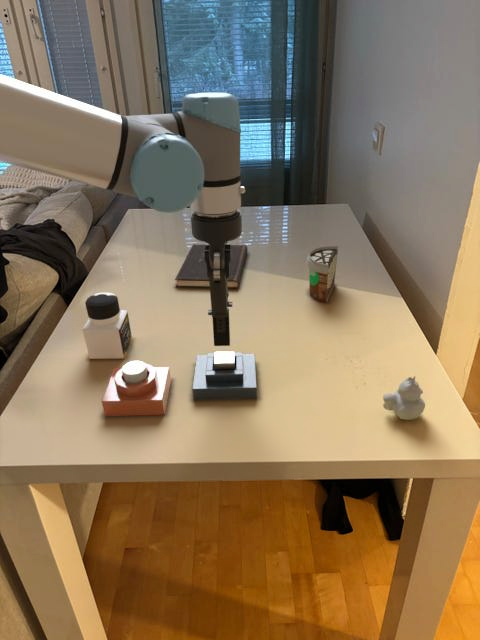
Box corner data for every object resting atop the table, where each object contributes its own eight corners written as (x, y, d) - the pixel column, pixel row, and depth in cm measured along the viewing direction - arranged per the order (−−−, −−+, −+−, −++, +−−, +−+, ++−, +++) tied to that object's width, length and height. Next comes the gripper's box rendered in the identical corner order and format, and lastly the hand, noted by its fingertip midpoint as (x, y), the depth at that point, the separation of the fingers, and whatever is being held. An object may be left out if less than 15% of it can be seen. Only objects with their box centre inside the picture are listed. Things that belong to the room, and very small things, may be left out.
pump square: (214, 371, 81) (213, 363, 81) (215, 359, 85) (214, 351, 84) (234, 371, 81) (234, 363, 81) (234, 359, 85) (234, 351, 84)
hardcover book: (175, 287, 118) (174, 279, 116) (193, 251, 137) (193, 244, 136) (238, 289, 116) (238, 280, 115) (247, 252, 135) (247, 245, 134)
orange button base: (104, 416, 78) (99, 392, 75) (116, 382, 85) (112, 360, 83) (164, 414, 78) (161, 391, 75) (171, 380, 85) (168, 358, 83)
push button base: (193, 399, 81) (191, 381, 79) (197, 365, 89) (196, 348, 87) (256, 398, 80) (256, 380, 78) (254, 363, 89) (254, 346, 87)
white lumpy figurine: (426, 427, 73) (435, 387, 69) (383, 424, 74) (390, 385, 70) (418, 404, 78) (426, 365, 74) (378, 402, 79) (384, 364, 75)
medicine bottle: (125, 359, 92) (114, 306, 85) (89, 359, 92) (76, 306, 86) (132, 339, 98) (123, 288, 92) (99, 339, 98) (87, 288, 92)
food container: (311, 279, 119) (313, 242, 114) (335, 282, 117) (338, 245, 112) (299, 301, 109) (300, 262, 104) (325, 305, 107) (327, 265, 102)
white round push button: (121, 384, 78) (119, 374, 76) (126, 370, 81) (124, 360, 80) (145, 384, 77) (143, 374, 76) (149, 369, 81) (147, 359, 80)
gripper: (241, 224, 63) (244, 365, 75) (241, 196, 74) (243, 323, 86) (186, 225, 63) (197, 366, 75) (194, 197, 74) (202, 324, 86)
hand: (222, 343), depth 80 cm, fingers closed
